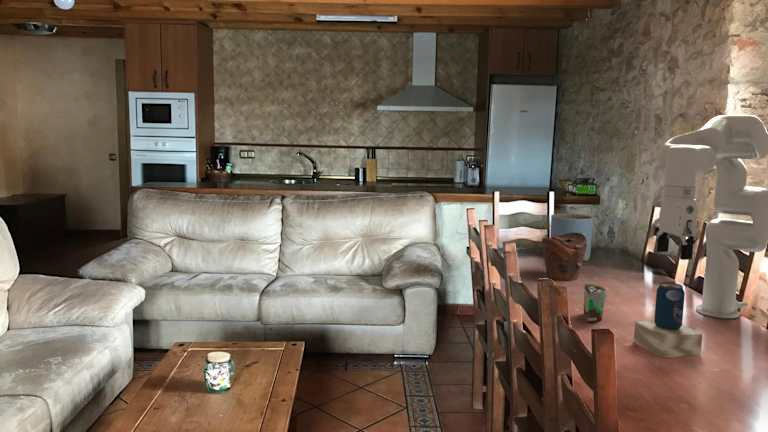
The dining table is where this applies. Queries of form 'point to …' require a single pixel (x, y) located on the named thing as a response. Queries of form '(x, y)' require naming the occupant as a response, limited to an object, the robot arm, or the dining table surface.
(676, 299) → the soda can
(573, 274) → the brown tapered round vessel
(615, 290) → the dining table surface
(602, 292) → the food container
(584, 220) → the planter
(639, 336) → the ash block
